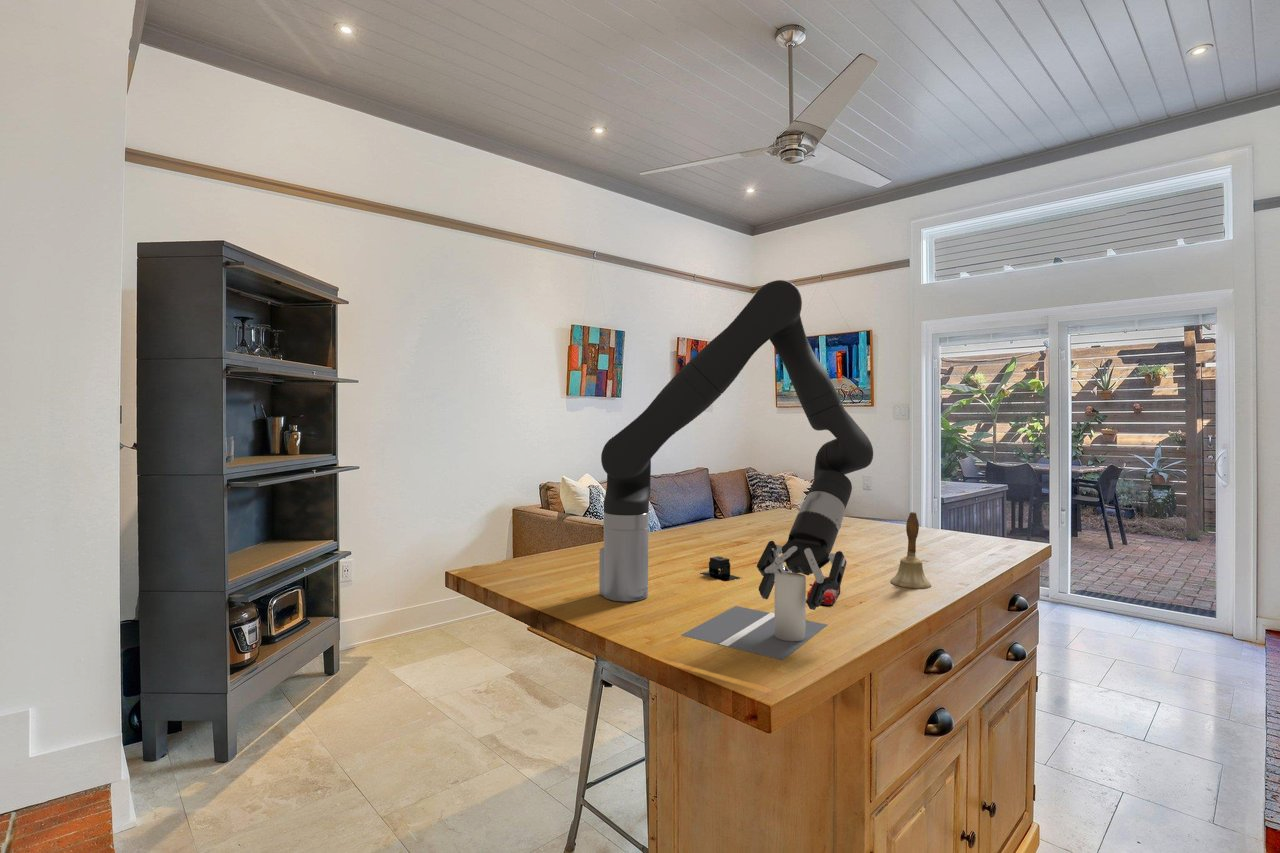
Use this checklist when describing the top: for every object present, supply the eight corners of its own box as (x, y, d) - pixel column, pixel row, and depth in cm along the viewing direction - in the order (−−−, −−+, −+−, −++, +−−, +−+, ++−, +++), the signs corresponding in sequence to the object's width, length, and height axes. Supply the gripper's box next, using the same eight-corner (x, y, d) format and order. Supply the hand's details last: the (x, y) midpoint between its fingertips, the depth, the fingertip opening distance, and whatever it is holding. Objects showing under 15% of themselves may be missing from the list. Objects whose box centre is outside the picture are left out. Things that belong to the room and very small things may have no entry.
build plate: (749, 581, 142) (749, 561, 142) (726, 586, 138) (726, 565, 138) (712, 570, 152) (712, 551, 152) (689, 574, 148) (689, 555, 148)
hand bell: (917, 578, 144) (918, 509, 144) (939, 588, 136) (940, 515, 135) (883, 579, 143) (884, 510, 142) (903, 589, 134) (904, 515, 134)
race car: (832, 609, 121) (832, 589, 121) (804, 605, 123) (804, 585, 123) (843, 592, 133) (843, 573, 133) (817, 589, 135) (817, 570, 135)
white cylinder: (769, 637, 103) (769, 576, 103) (781, 629, 107) (781, 571, 107) (798, 643, 100) (799, 580, 100) (809, 635, 104) (810, 575, 104)
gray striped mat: (680, 637, 104) (680, 634, 104) (735, 608, 120) (735, 605, 120) (783, 663, 93) (783, 659, 93) (828, 627, 110) (828, 624, 110)
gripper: (774, 505, 113) (740, 581, 105) (851, 514, 104) (820, 597, 95) (787, 531, 117) (756, 605, 109) (862, 541, 108) (834, 623, 99)
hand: (786, 601), depth 102 cm, fingers open, 8 cm apart
